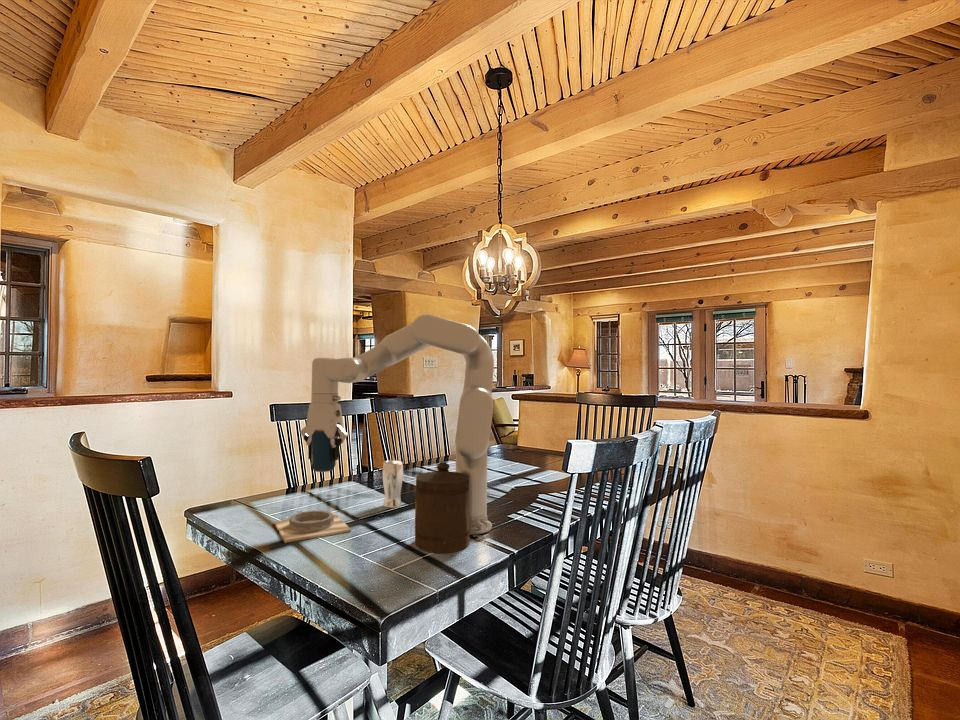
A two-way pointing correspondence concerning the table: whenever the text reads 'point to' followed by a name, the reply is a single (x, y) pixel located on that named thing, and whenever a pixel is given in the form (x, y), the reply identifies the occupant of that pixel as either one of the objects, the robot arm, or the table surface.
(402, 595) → the table surface
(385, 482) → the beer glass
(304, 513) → the collar plate
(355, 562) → the table surface
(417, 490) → the wooden container
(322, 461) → the soda can
